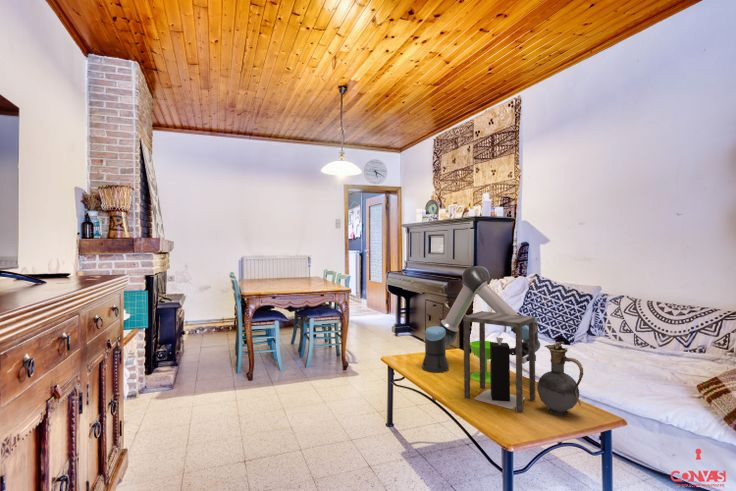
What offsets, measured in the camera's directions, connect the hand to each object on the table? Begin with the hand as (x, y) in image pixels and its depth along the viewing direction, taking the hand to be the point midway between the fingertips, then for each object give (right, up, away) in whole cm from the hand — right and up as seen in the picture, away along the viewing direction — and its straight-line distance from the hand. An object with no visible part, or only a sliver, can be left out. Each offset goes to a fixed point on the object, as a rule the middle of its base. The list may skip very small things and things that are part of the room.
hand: (508, 358), depth 187 cm
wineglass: (-4, -17, +23) cm, 29 cm away
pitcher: (+14, -17, -24) cm, 32 cm away
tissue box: (-7, -17, -7) cm, 19 cm away
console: (-7, -17, -7) cm, 20 cm away
